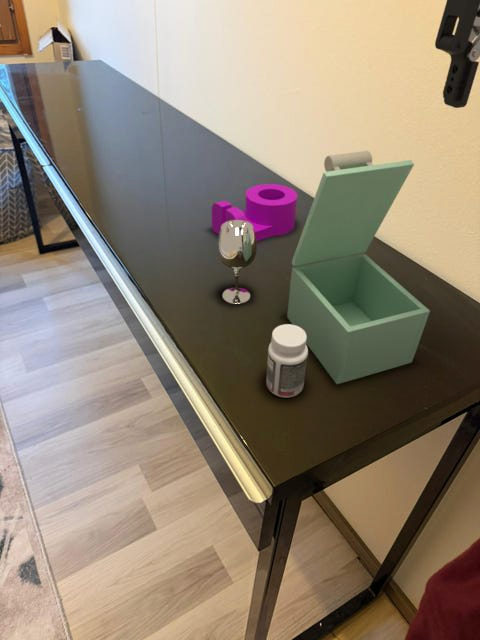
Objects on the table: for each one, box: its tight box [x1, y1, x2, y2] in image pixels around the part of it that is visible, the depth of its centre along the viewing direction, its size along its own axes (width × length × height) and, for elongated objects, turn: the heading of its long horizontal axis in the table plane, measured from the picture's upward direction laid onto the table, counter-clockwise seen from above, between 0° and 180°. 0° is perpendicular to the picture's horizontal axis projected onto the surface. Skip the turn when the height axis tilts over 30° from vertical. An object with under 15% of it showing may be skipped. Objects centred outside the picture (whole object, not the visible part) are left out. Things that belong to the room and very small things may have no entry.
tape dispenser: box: [211, 183, 298, 242], centre depth 88 cm, size 16×10×6 cm, turn 125°
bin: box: [286, 252, 431, 385], centre depth 62 cm, size 15×12×9 cm
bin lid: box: [291, 150, 415, 267], centre depth 59 cm, size 16×12×5 cm
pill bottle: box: [265, 323, 309, 399], centre depth 55 cm, size 5×5×8 cm
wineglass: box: [216, 220, 258, 305], centre depth 68 cm, size 6×6×12 cm
